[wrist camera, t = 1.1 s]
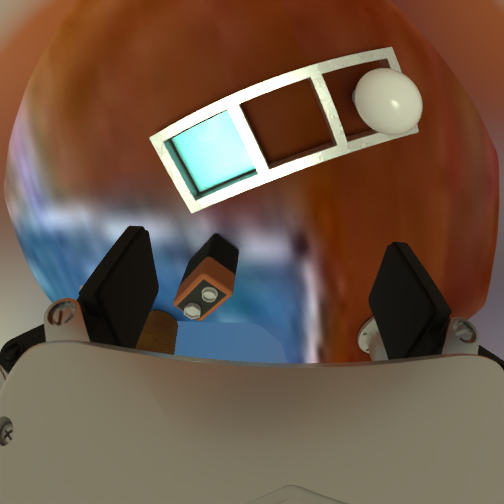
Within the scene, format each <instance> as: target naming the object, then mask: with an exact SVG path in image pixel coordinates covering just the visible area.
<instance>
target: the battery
mask: <svg viewBox="0 0 504 504" xmlns="http://www.w3.org/2000/svg"><path fill="white" fill-rule="evenodd" d="M238 255H239V251H238V249H236V248H235V247H234V246H232V245H231V244H230V243H228V242H227V241H226V240H224V239H223V238H222V237H220V236H219V235H217V234H215V235H213V236H212V237H211V238H210V239H209V240H208V241H207V242H206V244H205V245H204V246H203V247H202V248H201V249H200V250H199V251H198V252H197V253H196V255H195V256H194V257H193V258H192V259H191V260H190V261H189V263H188V266H187V268H186V271H185V273H184V276H183V278H182V281H181V284H180V286H179V289H178V291H177V294H176V297H175V299H174V303H173V304H174V306H176V307H177V308H179V309H180V310H182V311H183V312H184V315H185V316H187V317H189V318H190V319H196V320H198V321H202V320H203V319H205V318H206V317H207V316H208V315H209V314H210V313H212V312H213V311H214V310H215V309H216V308H218V307H219V306H220V305H221V304H222V303H223V302H225V301H226V300H227V299H228V298H229V297H230V296H231V295H232V294H233V288H234V281H235V275H236V268H237V262H238Z"/></svg>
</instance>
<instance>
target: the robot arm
mask: <svg viewBox="0 0 504 504" xmlns="http://www.w3.org/2000/svg"><path fill="white" fill-rule="evenodd" d="M158 289H159V285H158V280H157V275H156V270H155V265H154V259H153V254H152V248H151V243H150V237H149V232H148V231H147V230H145V229H144V227H143V226H129V227H128V228H127V229H126V230H125V231H124V232H123V234H122V235H121V236H120V237H119V239H118V240H117V241H116V243H115V244H114V245H113V246H112V248H111V249H110V250H109V252H108V253H107V254H106V256H105V257H104V258H103V259H102V261H101V262H100V264H99V265H98V266H97V268H96V269H95V270H94V272H93V273H92V275H91V276H90V277H89V279H88V280H87V282H86V283H85V285H84V286H83V288H82V289H81V290H80V292H79V295H80V296H79V298H78V299H77V301H76V300H75V299H72V298H63V299H59V300H57V301H55V302H54V303H52V304H51V305H50V306H49V307H48V309H47V310H46V312H45V315H44V324H42V325H40V326H38V327H36V328H34V329H32V330H30V331H28V332H25V333H23V334H21V335H19V336H17V337H15V338H13V339H11V340H10V341H8V342H7V343H6V344H5V345H4V346H3V347H2V349H1V352H0V504H504V361H503V360H501V359H500V358H498V357H497V356H495V355H494V354H492V353H491V352H489V351H488V350H486V349H485V348H483V347H482V346H480V345H479V333H478V331H477V329H476V328H475V326H474V325H473V324H472V323H471V322H469V321H468V320H467V319H464V318H462V317H455V318H453V319H451V321H450V319H449V315H450V314H451V312H452V311H451V309H450V308H449V306H448V304H447V303H446V301H445V299H444V298H443V296H442V294H441V293H440V291H439V290H438V288H437V286H436V285H435V283H434V282H433V280H432V279H431V277H430V276H429V274H428V273H427V271H426V270H425V268H424V267H423V265H422V264H421V262H420V261H419V260H418V258H417V257H416V255H415V254H414V253H413V251H412V250H411V248H410V247H409V246H408V244H407V243H403V242H392V243H391V245H388V247H387V249H386V252H385V255H384V257H383V260H382V263H381V266H380V269H379V272H378V274H377V277H376V280H375V282H374V285H373V288H372V290H371V293H370V295H369V305H370V308H371V311H372V313H373V317H371V318H370V319H369V320H368V321H367V322H366V323H365V324H364V325H363V326H362V328H361V329H360V331H359V333H358V337H357V339H358V344H359V347H360V348H361V349H362V350H363V351H365V352H367V353H370V357H371V360H372V361H366V362H347V363H261V362H243V361H229V360H216V359H205V358H196V357H187V356H179V355H171V354H164V353H157V352H151V351H144V350H137V349H135V348H136V345H137V342H138V340H139V337H140V335H141V332H142V330H143V327H144V325H145V322H146V320H147V317H148V315H149V312H150V310H151V308H152V305H153V303H154V301H155V298H156V296H157V293H158Z"/></svg>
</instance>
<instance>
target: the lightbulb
mask: <svg viewBox="0 0 504 504" xmlns="http://www.w3.org/2000/svg"><path fill="white" fill-rule="evenodd" d="M352 101H353V103H354V104H355V106H356V109H357V111H358V113H359V115H360V117H361V118H362V120H363V121H364V122H365V123H366V124H367V125H368V126H369V127H371V128H372V129H374V130H375V131H377V132H379V133H382V134H386V135H401V134H404V133H407V132H408V131H410V130H411V129H413V128H414V127H415V126H416V125H417V123H418V122H419V120H420V118H421V115H422V109H423V104H422V98H421V95H420V92H419V90H418V88H417V87H416V85H415V84H414V83H413V82H412V80H411V79H410V78H408V77H407V76H406V75H404V74H403V73H401V72H399V71H396V70H393V69H389V68H379V69H374V70H371V71H369V72H368V73H366V74H365V75H364V76H363V77H362V78H361V79H360V80H359V82H358V83H357V86H356V89H355V90H354V91H353V93H352Z"/></svg>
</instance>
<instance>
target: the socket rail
mask: <svg viewBox="0 0 504 504" xmlns="http://www.w3.org/2000/svg"><path fill="white" fill-rule="evenodd" d="M376 60H379V62H380V65H381V68H389V69H393V70H396V71H399V72H401V69H400V66H399V64H398V61H397V58H396V56H395V53H394V51H393V48H392V47H389V48H383V49H377V50H371V51H366V52H361V53H357V54H352V55H348V56H344V57H340V58H336V59H332V60H328V61H324V62H321V63H317V64H314V65H311V66H307V67H304V68H301V69H298V70H295V71H292V72H289V73H286V74H283V75H280V76H277V77H275V78H272V79H269V80H266V81H264V82H261V83H259V84H256V85H254V86H251V87H249V88H246V89H244V90H242V91H239V92H237V93H235V94H232V95H230V96H228V97H226V98H223V99H221V100H219V101H217V102H215V103H213V104H211V105H209V106H207V107H205V108H203V109H201V110H199V111H197V112H195V113H193V114H191V115H189V116H187V117H185V118H183V119H181V120H179V121H178V122H176V123H174V124H172V125H170V126H169V127H167V128H165V129H163V130H162V131H160V132H158V133H157V134H155V135H153V136H152V137H150V140H151V142H152V144H153V146H154V148H155V149H156V151H157V153H158V155H159V157H160V159H161V160H162V162H163V164H164V166H165V168H166V169H167V171H168V173H169V175H170V177H171V178H172V180H173V182H174V184H175V185H176V187H177V189H178V191H179V193H180V194H181V196H182V198H183V200H184V201H185V203H186V205H187V207H188V208H189V210H190V212H191V213H194V212H196V211H198V210H201V209H203V208H205V207H207V206H210V205H212V204H214V203H217V202H219V201H222V200H224V199H226V198H229V197H231V196H234V195H236V194H239V193H241V192H243V191H246V190H248V189H251V188H253V187H256V186H259V185H261V184H264V183H266V182H269V181H271V180H274V179H277V178H279V177H282V176H285V175H287V174H290V173H293V172H295V171H298V170H301V169H304V168H306V167H309V166H312V165H315V164H318V163H321V162H324V161H326V160H329V159H332V158H335V157H338V156H341V155H344V154H347V153H350V152H353V151H356V150H360V149H363V148H366V147H369V146H372V145H376V144H379V143H382V142H386V141H389V140H392V139H396V138H399V137H403V136H406V135H410V134H413V133H417V132H419V130H418V126H417V125H416V126H415V127H414V128H413V129H411V130H410V131H408V132H407V133H404V134H401V135H386V134H382V133H379V132H377V131H375V130H374V129H371V130H367V131H364V132H361V133H357V134H354V135H351V136H348V137H345V134H344V131H343V128H342V125H341V122H340V119H339V117H338V114H337V111H336V109H335V106H334V103H333V101H332V98H331V96H330V93H329V91H328V88H327V86H326V84H325V81H324V79H323V77H322V74H323V73H326V72H330V71H333V70H337V69H341V68H345V67H349V66H353V65H357V64H361V63H366V62H371V61H376ZM401 73H402V72H401ZM306 78H307V79H308V82H309V84H310V86H311V89H312V91H313V93H314V96H315V98H316V100H317V103H318V105H319V108H320V110H321V113H322V115H323V118H324V121H325V123H326V126H327V129H328V131H329V134H330V137H331V140H332V142H329V143H326V144H323V145H320V146H318V147H315V148H312V149H309V150H306V151H303V152H301V153H298V154H295V155H292V156H290V157H287V158H284V159H282V160H279V161H276V162H274V163H271V164H268V162H267V160H266V158H265V155H264V153H263V151H262V149H261V146H260V144H259V142H258V140H257V138H256V136H255V133H254V131H253V129H252V127H251V125H250V123H249V121H248V119H247V116H246V114H245V112H244V110H243V108H242V106H241V104H240V103H242V102H244V101H247V100H249V99H251V98H254V97H256V96H259V95H261V94H264V93H267V92H269V91H272V90H274V89H277V88H280V87H283V86H286V85H288V84H291V83H294V82H297V81H300V80H303V79H306ZM226 109H228V111H226V112H223V113H221V114H219V115H217V116H215V117H213V118H211V119H209V120H207V121H204V122H202V123H200V124H198V125H196V126H195V127H193V128H191V129H189V130H187V131H185V132H183V133H181V134H179V135H177V136H176V137H174V138H172V139H170V137H172V136H174V135H176V134H178V133H180V132H181V131H183V130H185V129H187V128H189V127H191V126H193V125H195V124H197V123H199V122H201V121H203V120H205V119H207V118H209V117H211V116H213V115H215V114H217V113H219V112H222V111H224V110H226ZM171 140H172V141H171ZM172 142H173V143H172ZM173 144H174V145H175V147H176V149H177V151H178V152H177V151H176V149H175V147H174V145H173ZM178 153H179V154H178ZM179 155H180V156H179ZM180 157H181V158H182V160H183V162H184V164H185V165H184V164H183V162H182V160H181V158H180ZM185 166H186V167H185ZM186 168H187V169H186ZM253 169H256V170H253ZM187 170H188V171H189V173H190V175H191V176H190V175H189V173H188V171H187ZM251 170H253V171H251ZM248 171H251V172H249V173H246V172H248ZM243 173H246V174H244V175H241V174H243ZM239 175H241V176H239ZM236 176H239V177H236ZM191 177H192V178H191ZM234 177H236V178H234ZM231 178H234V179H232V180H229V179H231ZM192 179H193V180H192ZM227 180H229V181H227ZM193 181H194V182H195V184H196V186H197V187H196V186H195V184H194V182H193ZM224 181H227V182H225V183H222V182H224ZM220 183H222V184H220ZM218 184H220V185H218ZM215 185H218V186H215ZM213 186H215V187H213ZM211 187H213V188H211ZM197 188H198V189H197ZM209 188H211V189H209ZM206 189H209V190H206ZM198 190H199V191H198ZM204 190H206V191H204ZM202 191H204V192H202ZM199 192H202V193H199Z"/></svg>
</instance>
